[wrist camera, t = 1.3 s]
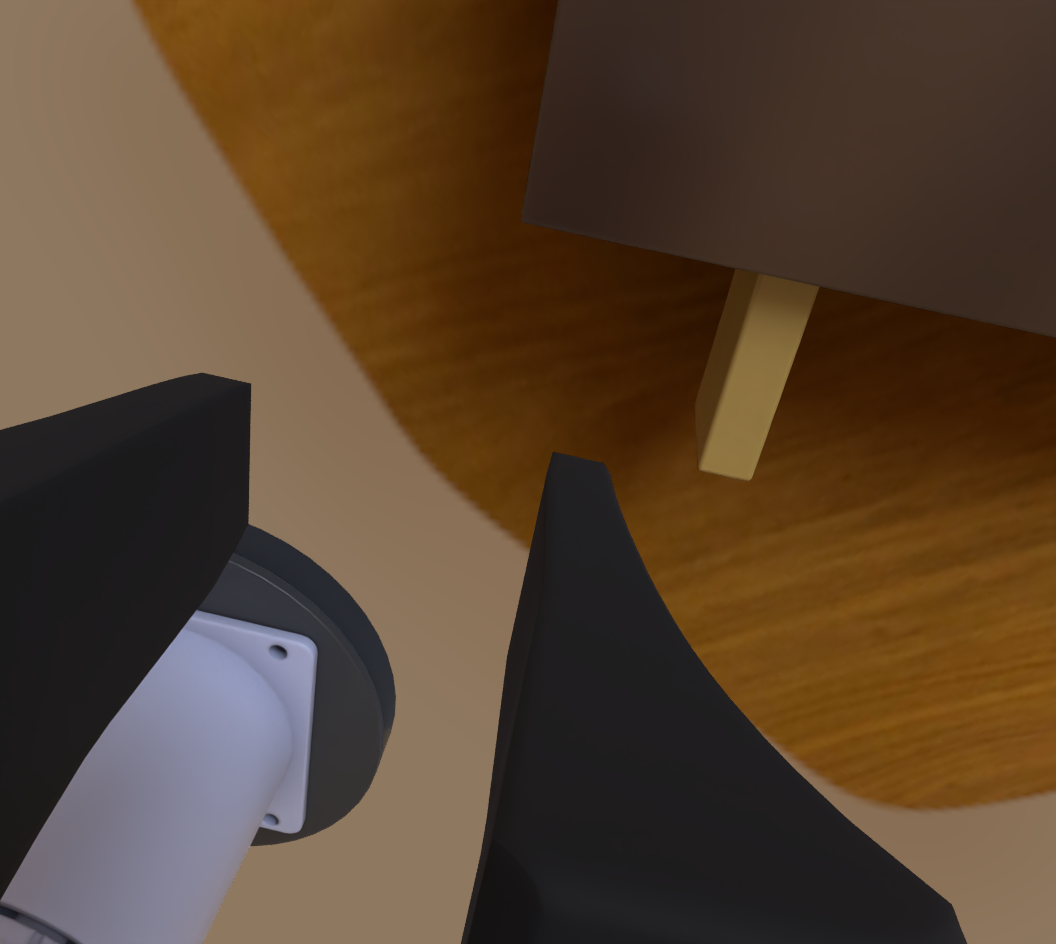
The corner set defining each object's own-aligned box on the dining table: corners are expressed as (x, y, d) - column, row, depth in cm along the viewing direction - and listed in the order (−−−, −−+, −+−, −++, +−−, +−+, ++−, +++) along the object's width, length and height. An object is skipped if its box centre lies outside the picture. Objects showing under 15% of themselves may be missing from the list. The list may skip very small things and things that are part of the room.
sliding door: (562, 354, 20) (537, 436, 16) (608, 137, 17) (591, 177, 14) (869, 422, 19) (911, 521, 16) (957, 210, 17) (1029, 271, 14)
